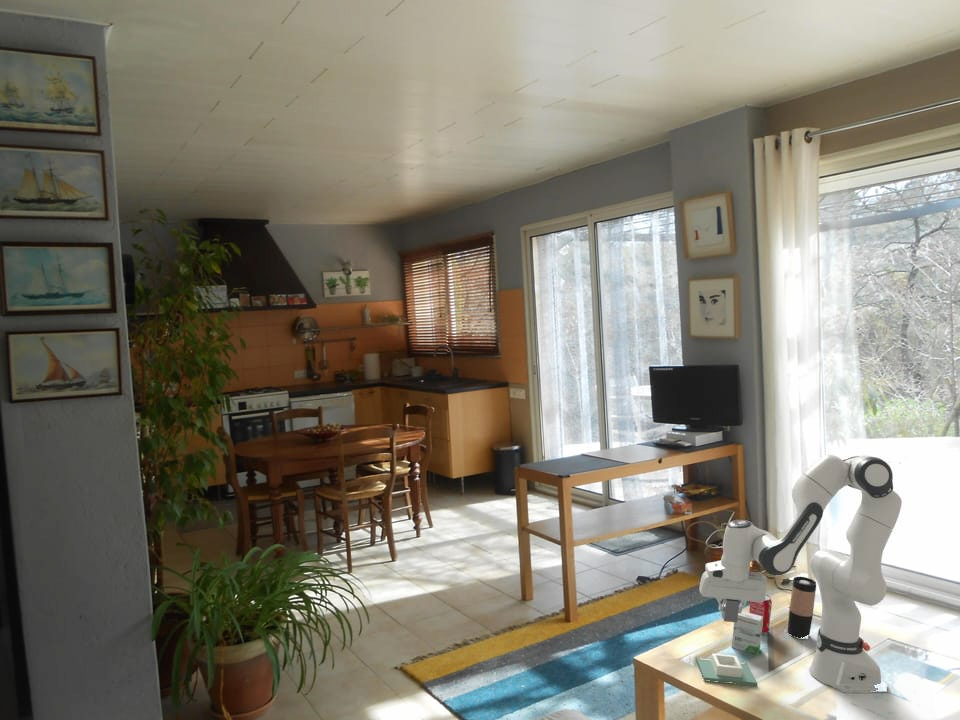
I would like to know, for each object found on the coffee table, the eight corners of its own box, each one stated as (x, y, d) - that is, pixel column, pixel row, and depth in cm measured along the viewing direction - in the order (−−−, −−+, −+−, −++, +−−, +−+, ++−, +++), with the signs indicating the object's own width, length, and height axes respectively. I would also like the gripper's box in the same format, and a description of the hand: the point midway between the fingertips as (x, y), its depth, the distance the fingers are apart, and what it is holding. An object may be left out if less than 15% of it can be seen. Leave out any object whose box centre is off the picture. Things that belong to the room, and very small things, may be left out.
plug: (734, 616, 242) (736, 594, 241) (737, 622, 238) (739, 599, 237) (721, 615, 242) (724, 592, 242) (724, 621, 239) (726, 598, 238)
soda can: (770, 636, 261) (774, 601, 259) (748, 633, 262) (752, 598, 260) (766, 627, 268) (770, 593, 266) (745, 624, 269) (749, 590, 267)
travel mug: (781, 630, 266) (788, 577, 264) (799, 628, 269) (806, 575, 266) (796, 640, 259) (803, 586, 257) (814, 638, 261) (821, 584, 259)
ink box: (760, 649, 252) (764, 616, 250) (757, 655, 247) (761, 621, 246) (733, 641, 256) (737, 608, 254) (730, 647, 252) (734, 614, 250)
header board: (746, 665, 240) (747, 653, 239) (756, 686, 228) (758, 673, 228) (695, 660, 241) (697, 648, 241) (703, 680, 229) (705, 668, 229)
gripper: (765, 569, 240) (760, 610, 242) (700, 563, 242) (696, 603, 244) (770, 577, 234) (765, 619, 236) (704, 571, 236) (700, 612, 238)
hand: (729, 611), depth 240 cm, fingers closed on plug, 4 cm apart
